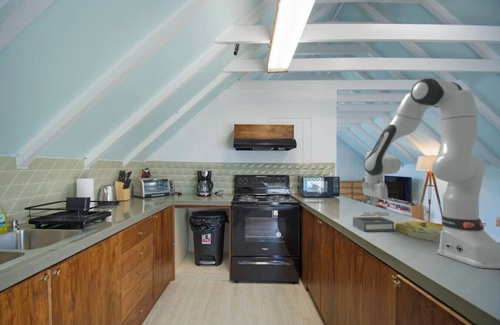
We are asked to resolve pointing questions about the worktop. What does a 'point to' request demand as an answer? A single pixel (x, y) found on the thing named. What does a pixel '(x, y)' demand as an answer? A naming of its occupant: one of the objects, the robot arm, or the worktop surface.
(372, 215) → the switch
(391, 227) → the box
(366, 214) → the switch
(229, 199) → the worktop surface
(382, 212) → the switch
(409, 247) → the worktop surface
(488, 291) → the worktop surface
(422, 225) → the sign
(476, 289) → the worktop surface
